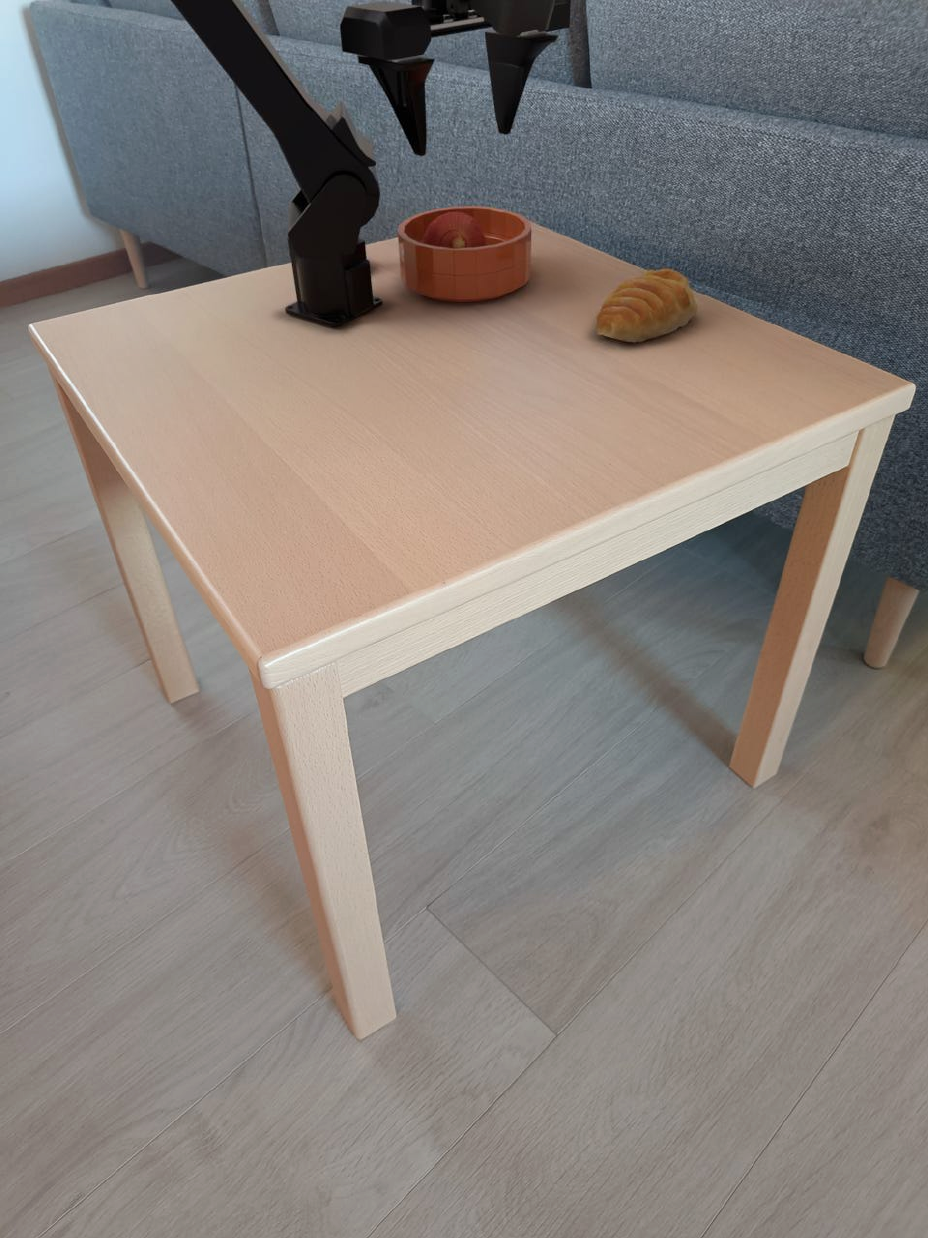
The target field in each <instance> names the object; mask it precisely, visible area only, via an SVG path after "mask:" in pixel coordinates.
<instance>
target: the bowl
mask: <svg viewBox="0 0 928 1238" xmlns="http://www.w3.org/2000/svg"><path fill="white" fill-rule="evenodd" d="M448 212H463V213H465V214H467V215H469V216H471V217H473V218H474V219H475V221H476V222H477V223H478V224H479V226H480V227H481V228H482V231H483V234H484V237H485V240H486V246H481V247H474V248H448V247H436V246H432V245H427V244H423V237H424V235H425V233H426V231H427V229H428V227H429V225H430V224H431V223H432V222H433V221H434V220H435V219H436V218H437V217H438V216H440V215H443V214H446V213H448ZM397 240H398V241H397V242H398V253H399V254H398V255H399V268H400V269H399V270H400V279H401V282H402V284H404V286H405V287H406V288H408V289H409V290H411V291H413V292H414V293H417V294H418V295H423V296H424V297H427V298H431V299H433V300H438V301H443V302H452V303H471V302H473V303H474V302H482V301H487V300H492V299H496V298H500V297H502V296H505V295H507V294H509V293H512V292H514V291H516V290H517V289H519V288H521V287H523V286H524V285H526V283H527V282H528V281H529V280H530V278H531V271H532V267H531V265H532V223H531V221H530V220H529V219H528V218H527V217H525V216H524V215H522V214H520V213H517V212H514V211H511V210H507V209H504V208H498V207H493V206H492V207H491V206H479V205H467V206H450V207H449V206H447V207H441V208H435V209H430V210H425V211H422V212H419V213H417V214H415V215H412V216H410V217H407V218H405V220H403V221H402V222H400V224H399V225H398V229H397Z"/></svg>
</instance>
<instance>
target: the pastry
mask: <svg viewBox="0 0 928 1238" xmlns="http://www.w3.org/2000/svg"><path fill="white" fill-rule="evenodd" d="M689 283H690V282H689V279H688V278H687V277H686V276H685V275H684V274H682V273H680V272H679V271H676V270H673V269H671V268H662V269H658V270H654V269H648V270H647V271H646V273H644V274H641V275H640V276H638V277H636V278H633V279H629V280H626V281H624V282H622V283H620V284H619V285H618V286H617V288H616V289H615V290H614V291H612V292H611V294H610V295H609V296H608V297H607V298H606V300H605V301H604V303H603V304H602V305H601V309H600V311H599V312H598V314H597V315H596V318H595V319H596V329H597V335H599V336H605V337H607V338H608V337H609V338H610V339H616V340H619V341H623V342H628V343H633V344H636V343H643V342H645V341H646V340H650V339H658V338H659V337H662V336H665V335H668V334H671V333H672V332H675V331H677V329H678V328H680V327H681V328H683V327H684V326H686V325H687V324H688V323H689V321H690V320H691V319H692V318H693V316H694V315H695V314H696V313H697V312H698V309H699V304H698V302H697V300H696V299H695V293H694V292H693V291H694V290H692V288H691V286H690V284H689Z"/></svg>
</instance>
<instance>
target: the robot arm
mask: <svg viewBox="0 0 928 1238" xmlns="http://www.w3.org/2000/svg"><path fill="white" fill-rule="evenodd" d="M410 1H411V2H410V3H411V4H409V3H401V2H395V1H394V2H393V1H389V0H381V1H376V2H375V1H374V2H368V3H361V4H353V5H347V6H346V8H345V10H344V13H343V15H342V17H341V20H340V24H339V31H340V41H341V52H343V53H347V54H352V55H356V58H357V63H358V64H360V65H365V66H368V67H369V68H370V70H371V72H372V74H373V76H374V77H375V79H376V81H377V82H378V85H380V87H381V89H382V91H383V92H384V95H385V96H386V98H387V100H388V102H389V104H390V105H391V108H392V110H393V112H394V114H395V116H396V118H397V120H398V123H399V125H400V127H401V129H402V131H403V134H404V135H405V137H406V139H407V142H408V144H409V146H410V148H411V150H412V153H413V154H414V155H416V156H417V157H423V156H424V157H425V156H426V154H427V142H428V141H427V140H428V133H427V132H428V130H427V129H428V128H427V101H426V80H427V78H428V76H429V73H430V72H431V69H432V67H433V66H434V63H435V58H431V57H427V56H424V55H425V54H426V51H427V50H428V47H430V44H431V42H432V38H438V37H439V38H440V37H445V36H450V35H456V34H461V33H466V32H473V31H479V30H486V29H490V28H491V29H493V30H487V31H484V39H485V47H486V55H487V62H488V70H489V79H490V80H489V81H490V89H491V95H492V103H493V111H494V118H495V121H496V126H497V132H498V133H499V134H500V135H505V136H507V135H509V134H511V132H512V129H513V126H514V124H515V123H514V122H515V120H516V116H517V113H518V110H519V107H520V103H521V100H522V96H523V94H524V91H525V88H526V84H527V81H528V79H529V75H530V73H531V70H532V68H533V66H534V63H535V61H536V59H537V58H538V57H539V56H540V55H541V54H542V52H544V51H545V49H546V48H547V47H548V46H549V45H551V44H554V43H556V42H557V41H558V39H559V34H558V33H553V32H554V31H560V30H566V29H570V28H571V8H572V0H410ZM170 2H171V4H173V5H174V7H175V8H176V10H177V11H178V12H179V14H180V15H181V16H182V17H183V19H184V20H185V21H186V22H187V24H188V25H189V26H190V28H192V30H193V31H194V33H195V34H196V35H197V37H198V38H199V39H200V41H201V42H202V43H203V44H204V46H205V47H206V48H207V49H208V51H209V52H210V54H211V55H212V56H213V57H214V59H215V60H216V61H217V63H218V64H219V65H220V66H221V68H222V69H223V71H224V72H225V73H226V75H227V76H228V77H229V78H230V79H231V81H232V82H233V83H234V84H235V86H236V87H237V88H238V90H239V91H240V92H241V94H242V95H243V96H244V97H245V99H246V101H248V103H249V104H250V105H251V107H252V108H253V109H254V111H255V112H256V113H257V115H258V116H259V117H260V118H261V119H262V121H263V122H264V123H265V125H266V126H267V127H268V128H269V130H270V131H271V132H272V134H273V136H274V137H275V140H276V142H277V143H278V145H279V148H280V151H281V152H282V154H283V156H284V159H285V161H286V162H287V165H288V167H289V169H290V171H291V173H292V176H293V178H294V179H295V182H296V183H297V185H298V187H299V190H298V191H297V192H296V193H295V195H294V196H293V198H292V199H291V200H290V202H289V209H288V223H287V224H288V225H287V244H288V251H289V258H290V264H291V265H290V266H291V271H292V277H293V284H294V289H295V290H294V291H295V297H296V301H295V302H293V303H291V304H289V305H287V306H286V307H284V310H285V314H287V315H290V316H293V317H296V318H300V319H303V320H306V321H309V322H313V323H316V324H320V325H323V326H326V327H330V328H333V329H340V328H342V327H343V326H345V325H348V324H349V323H351V322H353V321H355V320H357V319H359V318H361V317H363V316H365V315H366V314H369V313H371V312H373V311H374V310H376V309H379V308H380V307H382V306H383V305H384V301H383V298H381V297H377V296H374V292H373V290H374V289H373V281H372V280H373V279H372V271H371V261H370V260H369V259H367V258H368V257H367V246H366V240H365V239H364V238H360V233H361V229H362V228H363V227H364V226H366V225H367V224H369V222H371V220H372V219H373V218H374V217H375V215H376V212H377V210H378V208H379V206H380V197H381V189H380V185H379V180H378V175H377V171H376V170H377V169H376V166H377V159H376V155H375V150H374V145H373V141H372V140H370V139H369V138H367V137H366V136H364V135H363V134H362V133H361V131H359V129H358V128H357V127H356V125H355V123H354V121H353V120H352V117H351V114H350V113H349V111H348V109H347V108H346V106H345V103H344V102H343V101H340V102H338V104H337V105H336V106H335V107H334V109H333V110H332V111H331V112H329V110H327V109H325V108H324V107H323V106H322V105H321V104H319V102H317V101H316V100H315V99H314V98H313V97H312V96H311V95H310V94H309V93H308V92H307V90H306V89H305V88H304V86H303V85H302V84H301V82H300V81H299V80H298V78H297V77H296V76H295V74H294V73H293V71H292V70H291V68H289V66H288V64H287V63H286V61H285V60H284V59H283V58H282V56H281V55H280V53H279V51H278V50H277V49H276V48H275V47H274V45H273V44H272V42H271V41H270V40H269V38H268V37H267V35H266V34H265V32H264V31H263V30H262V29H261V27H260V26H259V24H258V23H257V22H256V21H255V19H254V17H253V16H252V15H251V13H250V12H249V10H248V9H247V8H246V6H245V5H244V4H243V2H242V1H241V0H170ZM551 32H552V33H551Z"/></svg>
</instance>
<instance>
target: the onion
mask: <svg viewBox="0 0 928 1238" xmlns="http://www.w3.org/2000/svg"><path fill="white" fill-rule="evenodd" d="M423 244H427V245H432V246H436V247H448V248H474V247H481V246H486V240H485V237H484V234H483V231H482V228H481V227H480V226H479V224H478V223H477V222H476V221H475V219H474V218H473V217H471V216H469V215H467V214H465V213H463V212H448V213H446V214H443V215H440V216H438V217H437V218H436V219H435V220H434V221H433V222H432V223H431V224H430V225H429V227H428V229H427V231H426V233H425V235H424V237H423Z"/></svg>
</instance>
